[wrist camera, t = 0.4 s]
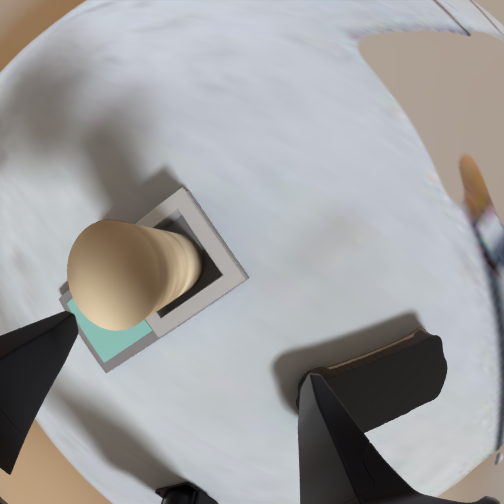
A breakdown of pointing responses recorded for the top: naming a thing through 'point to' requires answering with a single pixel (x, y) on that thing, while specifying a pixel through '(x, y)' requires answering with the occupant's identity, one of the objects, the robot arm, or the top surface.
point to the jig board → (183, 307)
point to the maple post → (130, 271)
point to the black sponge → (387, 379)
